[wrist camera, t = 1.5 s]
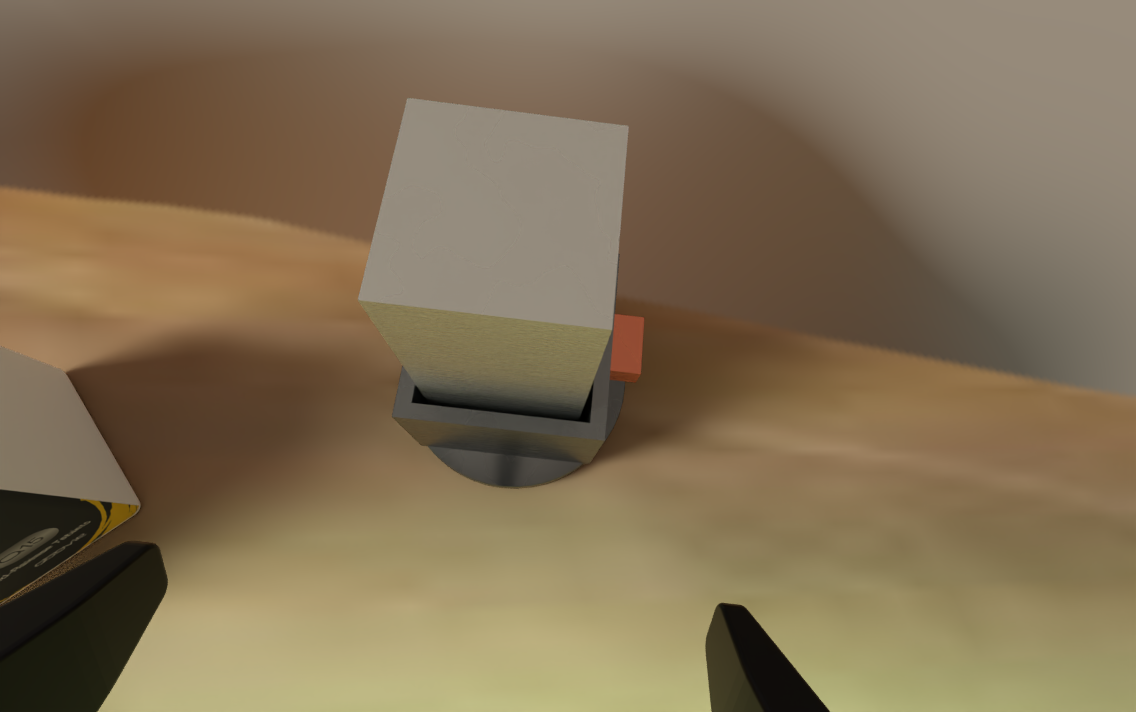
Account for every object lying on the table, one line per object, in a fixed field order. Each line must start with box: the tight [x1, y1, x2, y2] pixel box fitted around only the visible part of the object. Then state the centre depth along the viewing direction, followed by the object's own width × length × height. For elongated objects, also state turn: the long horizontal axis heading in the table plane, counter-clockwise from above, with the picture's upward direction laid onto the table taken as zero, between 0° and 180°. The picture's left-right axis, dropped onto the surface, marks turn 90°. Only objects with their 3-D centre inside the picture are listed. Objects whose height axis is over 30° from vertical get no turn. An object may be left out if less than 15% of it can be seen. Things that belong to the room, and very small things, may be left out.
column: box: [358, 98, 628, 422], centre depth 18 cm, size 5×5×12 cm
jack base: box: [392, 254, 644, 489], centre depth 21 cm, size 9×9×6 cm
